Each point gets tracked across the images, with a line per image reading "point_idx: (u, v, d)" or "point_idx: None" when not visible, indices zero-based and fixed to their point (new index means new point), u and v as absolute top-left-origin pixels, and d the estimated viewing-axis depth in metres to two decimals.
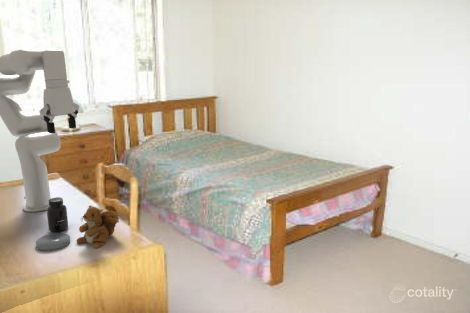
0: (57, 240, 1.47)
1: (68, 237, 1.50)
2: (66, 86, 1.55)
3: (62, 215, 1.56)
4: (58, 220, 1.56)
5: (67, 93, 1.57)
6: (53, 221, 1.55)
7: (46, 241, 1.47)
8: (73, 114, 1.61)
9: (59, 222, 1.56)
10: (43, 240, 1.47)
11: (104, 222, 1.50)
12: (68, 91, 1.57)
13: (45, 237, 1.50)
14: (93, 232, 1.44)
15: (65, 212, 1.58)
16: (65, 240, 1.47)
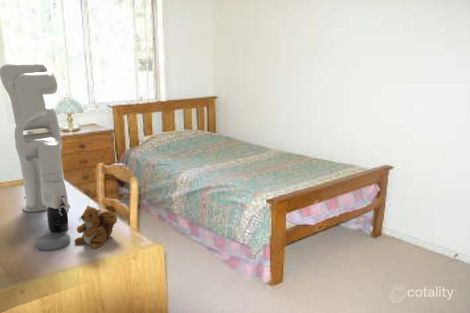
0: (57, 240, 1.47)
1: (68, 237, 1.50)
2: None
3: None
4: (58, 220, 1.56)
5: None
6: (53, 221, 1.55)
7: (46, 241, 1.47)
8: None
9: None
10: (43, 240, 1.47)
11: (102, 223, 1.49)
12: None
13: (45, 237, 1.50)
14: (91, 233, 1.43)
15: None
16: (65, 240, 1.47)
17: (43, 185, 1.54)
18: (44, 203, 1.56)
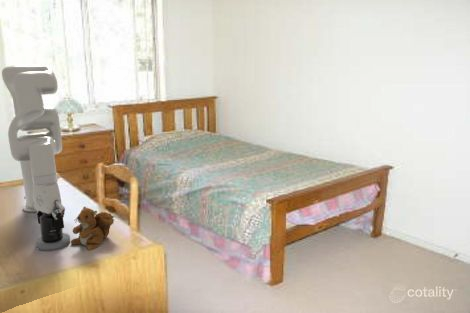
0: None
1: (68, 237, 1.50)
2: None
3: None
4: (52, 229, 1.44)
5: None
6: (46, 231, 1.44)
7: None
8: None
9: (53, 231, 1.44)
10: None
11: (98, 224, 1.48)
12: None
13: None
14: (86, 234, 1.43)
15: None
16: (65, 240, 1.47)
17: (35, 188, 1.42)
18: (36, 207, 1.44)
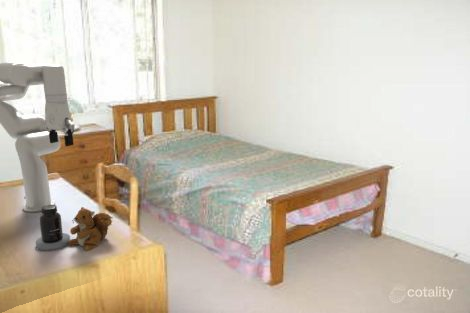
0: None
1: (68, 237, 1.50)
2: None
3: (56, 223, 1.45)
4: (52, 229, 1.44)
5: None
6: (46, 231, 1.44)
7: None
8: None
9: (53, 231, 1.44)
10: None
11: (96, 224, 1.48)
12: None
13: None
14: (84, 234, 1.42)
15: (59, 221, 1.46)
16: (65, 240, 1.47)
17: (47, 107, 1.58)
18: (48, 126, 1.60)
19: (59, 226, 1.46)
